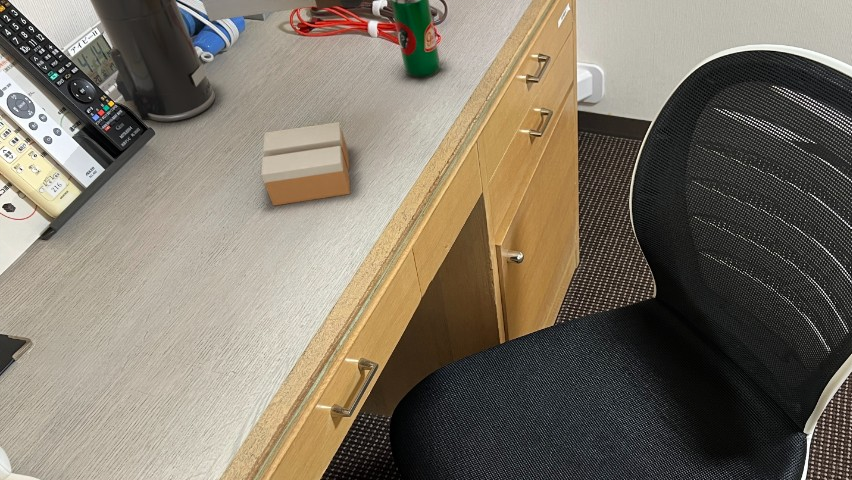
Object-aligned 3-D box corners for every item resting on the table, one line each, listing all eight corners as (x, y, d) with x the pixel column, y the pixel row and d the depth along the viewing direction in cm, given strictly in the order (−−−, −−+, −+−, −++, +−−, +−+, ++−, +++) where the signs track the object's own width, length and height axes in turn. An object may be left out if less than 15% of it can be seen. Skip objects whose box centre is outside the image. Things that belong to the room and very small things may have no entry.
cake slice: (273, 205, 98) (261, 174, 94) (274, 188, 100) (262, 156, 97) (350, 193, 99) (340, 162, 96) (349, 176, 101) (340, 145, 98)
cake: (274, 181, 101) (262, 150, 98) (275, 163, 103) (264, 132, 100) (349, 170, 102) (339, 139, 99) (348, 152, 105) (339, 121, 101)
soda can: (438, 79, 117) (423, -5, 108) (403, 80, 117) (385, -4, 108) (442, 61, 120) (428, -21, 111) (408, 62, 120) (391, -20, 111)
